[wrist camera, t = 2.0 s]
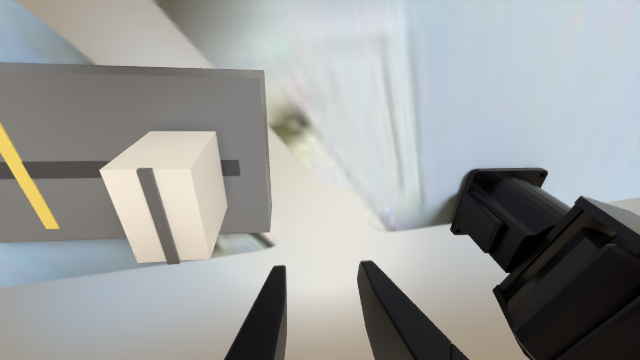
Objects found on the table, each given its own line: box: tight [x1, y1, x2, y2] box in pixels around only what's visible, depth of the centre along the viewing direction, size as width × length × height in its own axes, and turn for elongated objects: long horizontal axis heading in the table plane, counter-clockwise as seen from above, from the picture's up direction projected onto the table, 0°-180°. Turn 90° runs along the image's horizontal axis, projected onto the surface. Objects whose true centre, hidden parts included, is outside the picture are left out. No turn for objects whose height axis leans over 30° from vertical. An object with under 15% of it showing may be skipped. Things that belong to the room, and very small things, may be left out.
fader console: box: [0, 62, 272, 243], centre depth 16 cm, size 18×10×3 cm, turn 87°
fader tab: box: [99, 131, 227, 264], centre depth 13 cm, size 3×5×4 cm, turn 177°
